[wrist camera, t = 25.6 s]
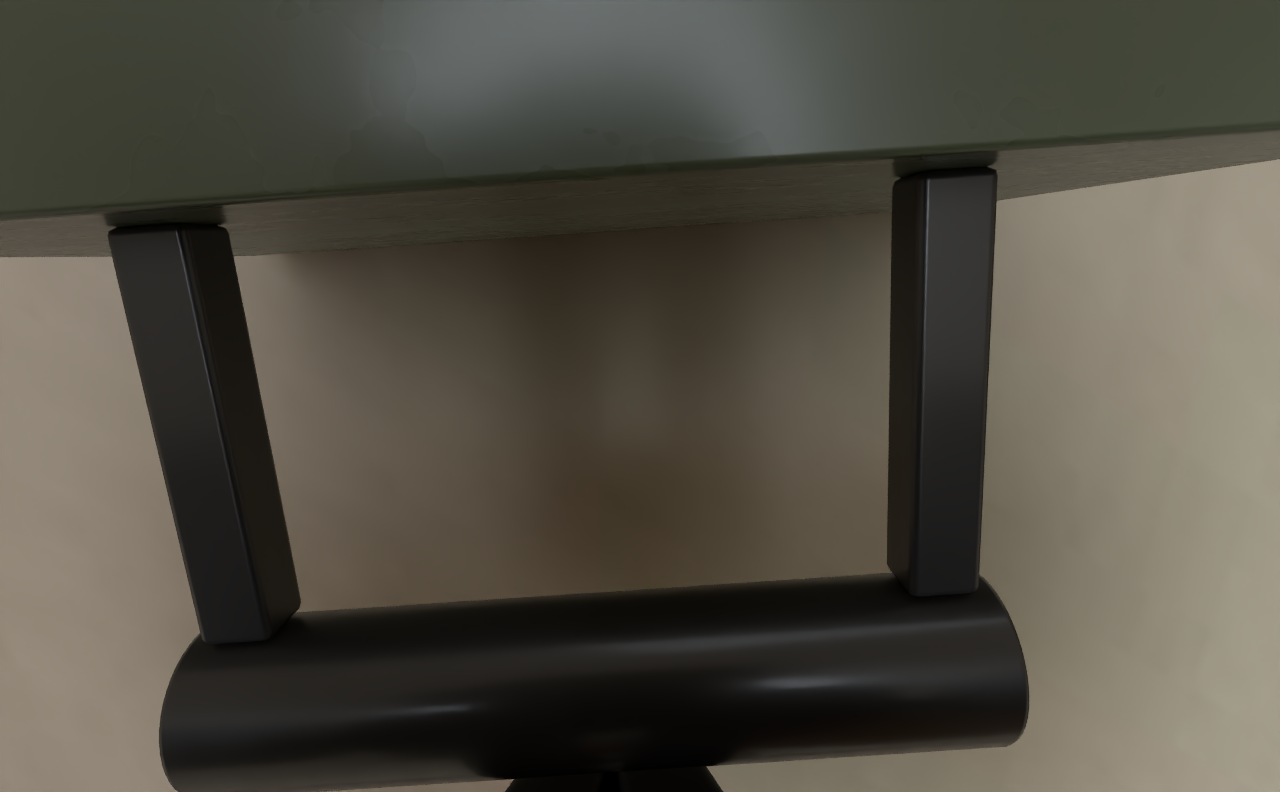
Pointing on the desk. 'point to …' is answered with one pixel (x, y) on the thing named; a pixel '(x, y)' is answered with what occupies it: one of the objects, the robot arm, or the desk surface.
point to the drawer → (579, 203)
